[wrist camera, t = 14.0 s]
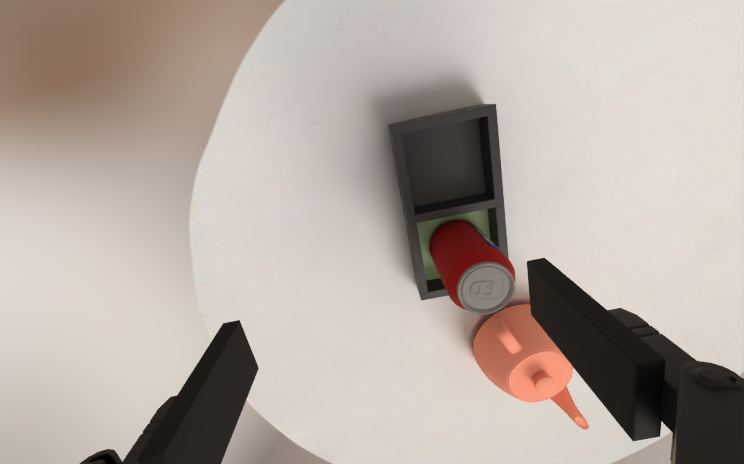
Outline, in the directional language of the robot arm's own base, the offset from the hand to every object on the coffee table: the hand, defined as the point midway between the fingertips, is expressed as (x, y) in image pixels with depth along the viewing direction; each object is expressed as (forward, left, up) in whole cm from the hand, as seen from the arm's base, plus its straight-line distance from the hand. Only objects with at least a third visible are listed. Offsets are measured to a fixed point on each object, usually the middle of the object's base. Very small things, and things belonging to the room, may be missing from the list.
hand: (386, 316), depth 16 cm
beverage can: (+9, +9, -28) cm, 30 cm away
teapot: (+26, +16, -28) cm, 42 cm away
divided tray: (+4, +9, -28) cm, 30 cm away
